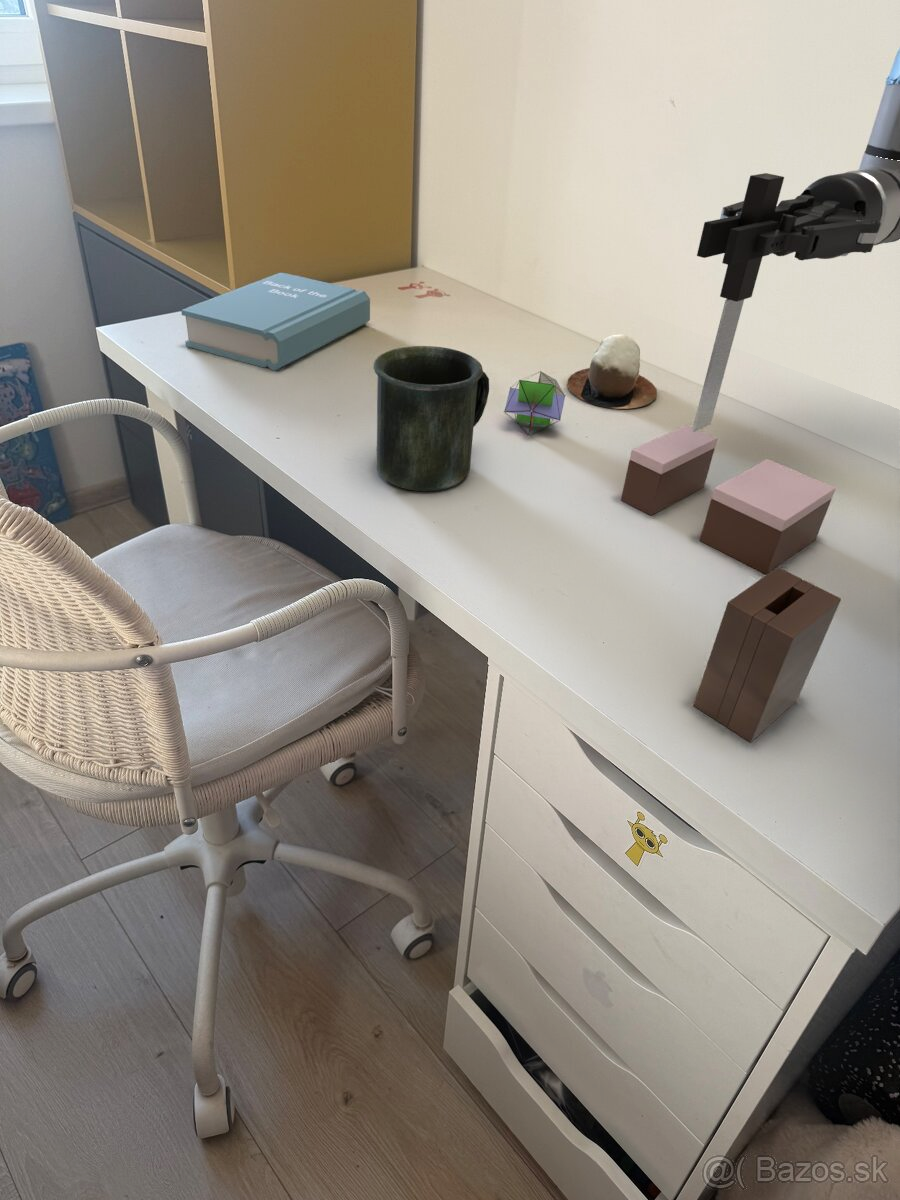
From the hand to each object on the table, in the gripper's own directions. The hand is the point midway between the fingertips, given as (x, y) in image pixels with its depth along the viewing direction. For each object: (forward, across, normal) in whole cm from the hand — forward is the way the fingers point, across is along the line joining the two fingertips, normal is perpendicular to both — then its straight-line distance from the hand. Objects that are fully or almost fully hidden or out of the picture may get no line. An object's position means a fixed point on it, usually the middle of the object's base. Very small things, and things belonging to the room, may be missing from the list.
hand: (717, 243), depth 69 cm
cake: (-6, -9, -27) cm, 29 cm away
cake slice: (-6, +2, -27) cm, 28 cm away
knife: (-6, 0, -18) cm, 19 cm away
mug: (+10, +22, -27) cm, 36 cm away
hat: (-24, +24, -27) cm, 43 cm away
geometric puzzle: (-6, +22, -27) cm, 35 cm away
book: (+1, +65, -27) cm, 70 cm away
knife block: (+17, -21, -27) cm, 38 cm away
